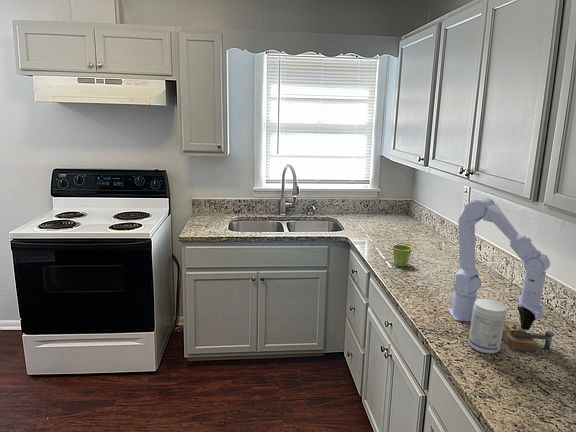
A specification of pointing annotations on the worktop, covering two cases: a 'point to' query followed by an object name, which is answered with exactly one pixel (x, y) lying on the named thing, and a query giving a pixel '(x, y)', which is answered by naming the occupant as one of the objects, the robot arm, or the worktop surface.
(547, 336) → the lever
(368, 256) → the worktop surface
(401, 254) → the plant pot
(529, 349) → the body
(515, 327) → the yellow rectangular block
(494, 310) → the supplement tub
